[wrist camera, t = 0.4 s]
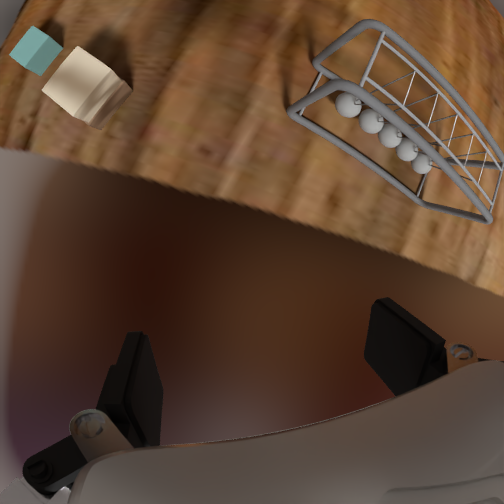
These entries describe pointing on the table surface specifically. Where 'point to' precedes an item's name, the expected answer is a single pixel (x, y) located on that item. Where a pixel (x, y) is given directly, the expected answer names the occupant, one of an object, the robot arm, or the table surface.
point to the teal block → (36, 51)
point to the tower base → (110, 106)
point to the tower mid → (82, 84)
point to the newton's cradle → (400, 122)
